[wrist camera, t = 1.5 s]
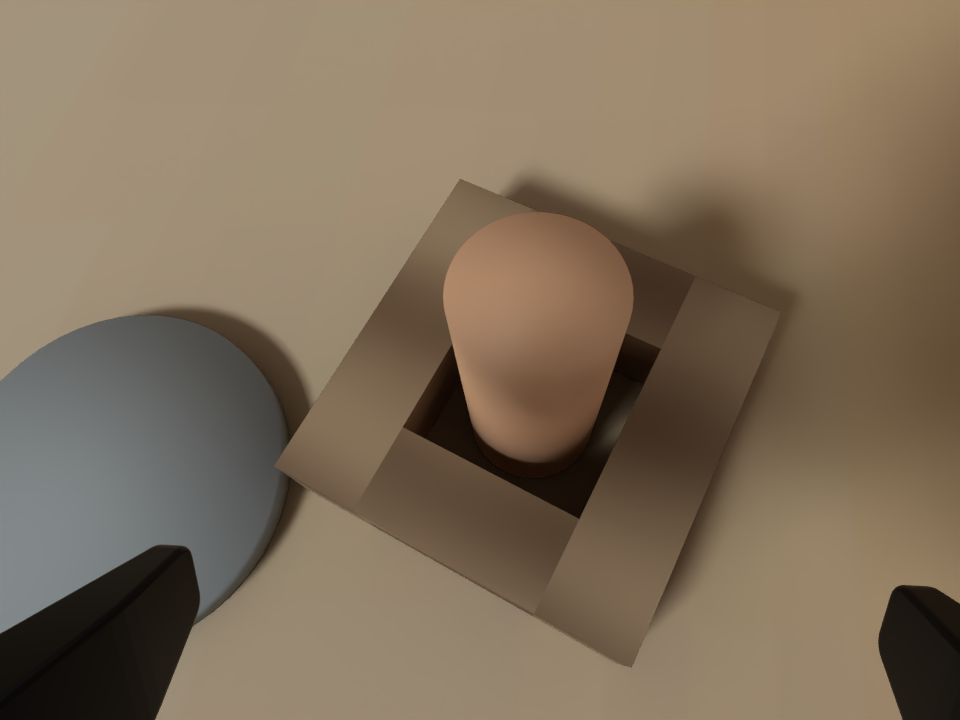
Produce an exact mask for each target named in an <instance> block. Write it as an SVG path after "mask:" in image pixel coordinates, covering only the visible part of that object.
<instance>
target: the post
mask: <svg viewBox="0 0 960 720" xmlns="http://www.w3.org/2000/svg"><path fill="white" fill-rule="evenodd" d="M633 299H634V297H633V285H632V280H631V276H630V273H629V270H628V267H627V265H626V263H625V261H624V259H623V257H622V256H621V254H620V253H619V251H618V250H617V249H616V247H615V246H614V245H613V244H612V243H611V242H610V241H609V240H608V239H607V238H606V237H605V236H604V235H603V234H601V233H600V232H599V231H597V230H596V229H594V228H593V227H591V226H590V225H588V224H586V223H584V222H582V221H580V220H577V219H574V218H571V217H568V216H565V215H560V214H556V213H547V212H530V213H521V214H516V215H512V216H508V217H505V218H502V219H499V220H497V221H495V222H493V223H491V224H489V225H487V226H485V227H484V228H482V229H481V230H479V231H477V232H476V233H475V234H474V235H473V236H471V237H470V238H469V239H468V240H467V241H466V242H465V243H464V244H463V245H462V247H461V248H460V249H459V251H458V252H457V253H456V255H455V256H454V258H453V260H452V262H451V264H450V266H449V269H448V272H447V274H446V278H445V283H444V290H443V303H444V311H445V315H446V319H447V323H448V327H449V332H450V336H451V340H452V344H453V348H454V352H455V357H456V361H457V365H458V369H459V373H460V377H461V382H462V386H463V390H464V394H465V398H466V402H467V407H468V411H469V415H470V419H471V423H472V427H473V432H474V436H475V438H476V441H477V443H478V445H479V447H480V449H481V450H482V452H483V453H484V455H485V456H486V457H487V458H488V459H489V460H490V461H491V462H492V463H493V464H495V465H496V466H497V467H499V468H500V469H502V470H504V471H506V472H508V473H510V474H513V475H517V476H521V477H527V478H538V477H545V476H549V475H553V474H555V473H558V472H560V471H562V470H564V469H566V468H567V467H569V466H570V465H571V464H573V463H574V462H575V461H576V460H577V459H578V458H579V456H580V455H581V454H582V453H583V451H584V449H585V448H586V446H587V444H588V441H589V439H590V436H591V433H592V430H593V427H594V424H595V422H596V419H597V416H598V413H599V410H600V407H601V404H602V401H603V398H604V395H605V392H606V389H607V386H608V383H609V380H610V377H611V374H612V372H613V369H614V366H615V363H616V360H617V357H618V354H619V351H620V348H621V345H622V342H623V339H624V336H625V333H626V330H627V327H628V324H629V321H630V318H631V314H632V310H633Z"/></svg>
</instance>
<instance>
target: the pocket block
mask: <svg viewBox="0 0 960 720" xmlns="http://www.w3.org/2000/svg"><path fill="white" fill-rule="evenodd" d="M530 212H539V211H536V210H534V209H532V208H529V207H527V206H524V205H522V204H519V203H517V202H515V201H512V200H510V199H507V198H505V197H503V196H500V195H498V194H495V193H493V192H491V191H488V190H486V189H483V188H481V187H479V186H476V185H474V184H471V183H469V182H466V181H464V180H462V179H460V180H459V181H458V183H457V184H456V186H455V187H454V189H453V191H452V192H451V194H450V195H449V197H448V198H447V200H446V201H445V203H444V204H443V206H442V208H441V209H440V211H439V212H438V214H437V215H436V217H435V218H434V220H433V221H432V223H431V224H430V226H429V228H428V229H427V231H426V232H425V234H424V235H423V237H422V238H421V240H420V241H419V243H418V245H417V246H416V248H415V249H414V251H413V252H412V254H411V255H410V257H409V258H408V260H407V262H406V263H405V265H404V266H403V268H402V269H401V271H400V272H399V274H398V275H397V277H396V278H395V280H394V282H393V283H392V285H391V286H390V288H389V289H388V291H387V292H386V294H385V295H384V297H383V299H382V300H381V302H380V303H379V305H378V306H377V308H376V309H375V311H374V312H373V314H372V315H371V317H370V319H369V320H368V322H367V323H366V325H365V326H364V328H363V329H362V331H361V332H360V334H359V336H358V337H357V339H356V340H355V342H354V343H353V345H352V346H351V348H350V349H349V351H348V353H347V354H346V356H345V357H344V359H343V360H342V362H341V363H340V365H339V366H338V368H337V369H336V371H335V373H334V374H333V376H332V377H331V379H330V380H329V382H328V383H327V385H326V386H325V388H324V390H323V391H322V393H321V394H320V396H319V397H318V399H317V400H316V402H315V403H314V405H313V407H312V408H311V410H310V411H309V413H308V414H307V416H306V417H305V419H304V420H303V422H302V423H301V425H300V427H299V428H298V430H297V431H296V433H295V434H294V436H293V437H292V439H291V440H290V442H289V444H288V445H287V447H286V448H285V450H284V451H283V453H282V454H281V456H280V457H279V459H278V461H277V462H276V464H275V465H274V467H276V468H277V469H279V470H280V471H282V472H283V473H285V474H286V475H288V476H289V477H290V478H292V479H293V480H295V481H296V482H298V483H299V484H301V485H302V486H304V487H305V488H307V489H309V490H310V491H312V492H314V493H316V494H318V495H319V496H321V497H323V498H325V499H326V500H328V501H330V502H332V503H333V504H335V505H337V506H339V507H341V508H342V509H344V510H346V511H348V512H349V513H351V514H353V515H355V516H356V517H358V518H360V519H362V520H364V521H365V522H367V523H369V524H371V525H372V526H374V527H376V528H378V529H380V530H381V531H383V532H385V533H387V534H388V535H390V536H392V537H394V538H395V539H397V540H399V541H401V542H403V543H404V544H406V545H408V546H410V547H411V548H413V549H415V550H417V551H418V552H420V553H422V554H424V555H426V556H427V557H429V558H431V559H433V560H434V561H436V562H438V563H440V564H442V565H443V566H445V567H447V568H449V569H450V570H452V571H454V572H456V573H457V574H459V575H461V576H463V577H465V578H466V579H468V580H470V581H472V582H473V583H475V584H477V585H479V586H480V587H482V588H484V589H486V590H488V591H489V592H491V593H493V594H495V595H496V596H498V597H500V598H502V599H504V600H505V601H507V602H509V603H511V604H512V605H514V606H516V607H518V608H519V609H521V610H523V611H525V612H527V613H528V614H530V615H532V616H534V617H535V618H537V619H539V620H541V621H542V622H544V623H546V624H548V625H550V626H551V627H553V628H555V629H557V630H558V631H560V632H562V633H564V634H566V635H567V636H569V637H571V638H573V639H574V640H576V641H578V642H580V643H581V644H583V645H585V646H587V647H589V648H590V649H592V650H594V651H596V652H597V653H599V654H601V655H603V656H604V657H606V658H608V659H610V660H612V661H613V662H615V663H617V664H621V665H624V666H628V667H631V668H632V665H633V663H634V661H635V658H636V656H637V654H638V651H639V649H640V647H641V644H642V642H643V639H644V637H645V635H646V632H647V630H648V628H649V625H650V623H651V621H652V618H653V616H654V613H655V611H656V609H657V606H658V604H659V602H660V599H661V597H662V594H663V592H664V590H665V587H666V585H667V583H668V580H669V578H670V576H671V573H672V571H673V568H674V566H675V564H676V561H677V559H678V557H679V554H680V552H681V550H682V547H683V545H684V542H685V540H686V538H687V535H688V533H689V531H690V528H691V526H692V523H693V521H694V519H695V516H696V514H697V512H698V509H699V507H700V505H701V502H702V500H703V497H704V495H705V493H706V490H707V488H708V486H709V483H710V481H711V479H712V476H713V474H714V471H715V469H716V467H717V464H718V462H719V460H720V457H721V455H722V453H723V450H724V448H725V445H726V443H727V441H728V438H729V436H730V434H731V431H732V429H733V426H734V424H735V422H736V419H737V417H738V415H739V412H740V410H741V408H742V405H743V403H744V400H745V398H746V396H747V393H748V391H749V389H750V386H751V384H752V382H753V379H754V377H755V374H756V372H757V370H758V367H759V365H760V363H761V360H762V358H763V355H764V353H765V351H766V348H767V346H768V344H769V341H770V339H771V337H772V334H773V332H774V329H775V327H776V325H777V322H778V320H779V318H780V315H781V313H782V312H780V311H777V310H775V309H773V308H770V307H768V306H765V305H763V304H761V303H758V302H756V301H753V300H751V299H748V298H746V297H744V296H741V295H739V294H736V293H734V292H732V291H729V290H727V289H724V288H722V287H720V286H717V285H715V284H712V283H710V282H708V281H705V280H703V279H700V278H698V277H695V276H693V275H691V274H688V273H686V272H683V271H681V270H679V269H676V268H674V267H671V266H669V265H667V264H664V263H662V262H659V261H657V260H654V259H652V258H650V257H647V256H645V255H642V254H640V253H638V252H635V251H633V250H630V249H628V248H626V247H623V246H621V245H618V244H616V243H614V242H611V241H610V242H611V243H612V244H613V245H614V246H615V247H616V249H617V250H618V251H619V253H620V254H621V256H622V257H623V259H624V261H625V263H626V265H627V267H628V270H629V273H630V276H631V280H632V285H633V297H634V299H633V310H632V314H631V318H630V321H629V324H628V327H627V330H626V333H625V336H624V339H623V342H622V345H621V348H620V351H619V354H618V357H617V360H616V363H615V366H614V370H616V371H618V372H620V373H622V374H625V375H627V376H629V377H631V378H633V379H635V380H638V381H640V382H642V383H644V386H643V388H642V390H641V392H640V394H639V396H638V398H637V400H636V402H635V404H634V406H633V408H632V411H631V413H630V415H629V417H628V419H627V421H626V423H625V425H624V427H623V429H622V431H621V433H620V436H619V438H618V440H617V442H616V444H615V446H614V448H613V450H612V452H611V454H610V456H609V459H608V461H607V463H606V465H605V467H604V469H603V471H602V473H601V475H600V477H599V479H598V481H597V484H596V486H595V488H594V490H593V492H592V494H591V496H590V498H589V500H588V502H587V504H586V506H585V509H584V511H583V513H582V515H581V517H580V519H578V518H577V517H575V516H573V515H571V514H569V513H567V512H565V511H563V510H561V509H559V508H557V507H555V506H553V505H552V504H550V503H548V502H546V501H544V500H542V499H540V498H538V497H536V496H534V495H532V494H530V493H528V492H527V491H525V490H523V489H521V488H519V487H517V486H515V485H513V484H511V483H509V482H507V481H505V480H503V479H502V478H500V477H498V476H496V475H494V474H492V473H490V472H488V471H486V470H484V469H482V468H480V467H478V466H477V465H475V464H473V463H471V462H469V461H467V460H465V459H463V458H461V457H459V456H457V455H455V454H453V453H452V452H450V451H448V450H446V449H444V448H442V447H440V446H438V445H436V444H434V443H432V442H430V441H428V440H427V439H426V437H427V436H428V434H429V432H430V430H431V429H432V427H433V425H434V424H435V422H436V420H437V418H438V417H439V415H440V413H441V411H442V410H443V408H444V406H445V405H446V403H447V401H448V399H449V398H450V396H451V394H452V392H453V391H454V389H455V387H456V386H457V384H458V382H459V380H460V379H461V377H460V373H459V369H458V365H457V361H456V357H455V352H454V348H453V344H452V340H451V336H450V332H449V327H448V323H447V319H446V315H445V311H444V303H443V290H444V283H445V278H446V274H447V272H448V269H449V266H450V264H451V262H452V260H453V258H454V256H455V255H456V253H457V252H458V251H459V249H460V248H461V247H462V245H463V244H464V243H465V242H466V241H467V240H468V239H469V238H470V237H471V236H473V235H474V234H475V233H476V232H477V231H479V230H481V229H482V228H484V227H485V226H487V225H489V224H491V223H493V222H495V221H497V220H499V219H502V218H505V217H508V216H512V215H516V214H521V213H530Z"/></svg>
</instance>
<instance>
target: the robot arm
mask: <svg viewBox="0 0 960 720" xmlns="http://www.w3.org/2000/svg"><path fill="white" fill-rule="evenodd" d="M199 606H200V590H199V586H198V581H197V576H196V571H195V566H194V561H193V557H192V553H191V551H190V550H189V549H188V548H187V547H185V546H181V545H163V544H162V545H156V546H153V547H151V548H150V549H148V550H146V551H144V552H142V553H141V554H139V555H137V556H135V557H134V558H132V559H130V560H128V561H127V562H125V563H123V564H121V565H120V566H118V567H116V568H114V569H113V570H111V571H109V572H107V573H106V574H104V575H102V576H100V577H99V578H97V579H95V580H93V581H92V582H90V583H88V584H86V585H84V586H83V587H81V588H79V589H77V590H76V591H74V592H72V593H70V594H69V595H67V596H65V597H63V598H62V599H60V600H58V601H56V602H55V603H53V604H51V605H49V606H48V607H46V608H44V609H42V610H41V611H39V612H37V613H35V614H33V615H32V616H30V617H28V618H26V619H25V620H23V621H21V622H19V623H18V624H16V625H14V626H12V627H11V628H9V629H7V630H5V631H4V632H2V633H0V720H155V719H156V716H157V714H158V712H159V709H160V707H161V705H162V702H163V700H164V697H165V695H166V692H167V689H168V687H169V684H170V682H171V679H172V677H173V674H174V672H175V669H176V667H177V664H178V662H179V659H180V657H181V654H182V652H183V649H184V646H185V644H186V641H187V639H188V636H189V634H190V631H191V629H192V626H193V624H194V621H195V619H196V616H197V613H198V610H199ZM878 644H879V652H880V656H881V659H882V662H883V665H884V668H885V670H886V673H887V676H888V679H889V682H890V685H891V688H892V691H893V693H894V696H895V699H896V702H897V705H898V708H899V711H900V714H901V716H902V719H903V720H960V604H959V603H958V602H956V601H955V600H953V599H952V598H950V597H949V596H947V595H945V594H944V593H942V592H941V591H939V590H937V589H936V588H933V587H928V586H912V585H900V586H897V587H896V588H895V589H894V590H893V591H892V594H891V596H890V599H889V603H888V606H887V609H886V613H885V616H884V619H883V622H882V626H881V629H880V632H879V639H878Z"/></svg>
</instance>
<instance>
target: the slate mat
mask: <svg viewBox="0 0 960 720" xmlns="http://www.w3.org/2000/svg"><path fill="white" fill-rule="evenodd" d="M289 442H290V438H289V430H288V426H287V422H286V418H285V415H284V411H283V408H282V406H281V404H280V401H279V399H278V397H277V394H276V392H275V391H274V389H273V388H272V386H271V384H270V383H269V381H268V380H267V378H266V377H265V375H264V374H263V373H262V372H261V371H260V370H259V368H258V367H257V366H256V365H255V364H254V363H253V362H252V361H251V360H250V359H249V358H248V357H247V356H246V355H245V354H244V353H243V352H242V351H241V350H240V349H239V348H238V347H236V346H235V345H234V344H233V343H232V342H231V341H229V340H228V339H226V338H225V337H223V336H221V335H220V334H218V333H217V332H215V331H213V330H211V329H209V328H206V327H204V326H202V325H200V324H197V323H194V322H191V321H187V320H183V319H180V318H174V317H167V316H160V315H136V316H127V317H118V318H114V319H109V320H105V321H100V322H97V323H94V324H91V325H88V326H85V327H82V328H79V329H77V330H75V331H72V332H70V333H68V334H66V335H64V336H62V337H60V338H58V339H56V340H54V341H53V342H51V343H49V344H47V345H46V346H44V347H42V348H41V349H39V350H38V351H36V352H35V353H34V354H32V355H31V356H30V357H28V358H27V359H25V360H24V361H23V362H21V363H20V364H19V365H18V366H17V367H16V368H15V369H14V370H12V371H11V372H10V373H9V374H8V375H7V376H6V377H5V378H4V379H3V380H2V381H1V382H0V633H2V632H4V631H5V630H7V629H9V628H11V627H12V626H14V625H16V624H18V623H19V622H21V621H23V620H25V619H26V618H28V617H30V616H32V615H33V614H35V613H37V612H39V611H41V610H42V609H44V608H46V607H48V606H49V605H51V604H53V603H55V602H56V601H58V600H60V599H62V598H63V597H65V596H67V595H69V594H70V593H72V592H74V591H76V590H77V589H79V588H81V587H83V586H84V585H86V584H88V583H90V582H92V581H93V580H95V579H97V578H99V577H100V576H102V575H104V574H106V573H107V572H109V571H111V570H113V569H114V568H116V567H118V566H120V565H121V564H123V563H125V562H127V561H128V560H130V559H132V558H134V557H135V556H137V555H139V554H141V553H142V552H144V551H146V550H148V549H150V548H151V547H153V546H156V545H162V544H163V545H181V546H185V547H187V548H188V549H189V550H190V551H191V553H192V557H193V561H194V566H195V571H196V576H197V581H198V586H199V590H200V606H199V610H198V613H197V616H196V619H195V621H194V624H193V626H194V625H195V624H196V623H198V622H199V621H201V620H202V619H204V618H205V617H206V616H208V615H209V614H211V613H212V612H213V611H214V610H215V609H216V608H218V607H219V606H220V605H221V604H222V603H223V602H224V601H225V600H226V599H228V598H229V597H230V596H231V595H232V594H233V592H234V591H235V590H236V589H237V588H238V587H239V586H240V585H241V583H242V582H243V581H244V580H245V579H246V578H247V577H248V575H249V574H250V572H251V571H252V569H253V568H254V567H255V565H256V564H257V562H258V561H259V560H260V558H261V557H262V555H263V553H264V551H265V549H266V547H267V546H268V544H269V542H270V540H271V538H272V536H273V534H274V532H275V529H276V527H277V524H278V522H279V519H280V517H281V514H282V511H283V507H284V504H285V500H286V496H287V492H288V486H289V479H290V477H289V476H288V475H286V474H285V473H283V472H282V471H280V470H279V469H277V468H276V467H274V465H275V464H276V462H277V461H278V459H279V457H280V456H281V454H282V453H283V451H284V450H285V448H286V447H287V445H288V444H289Z"/></svg>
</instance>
